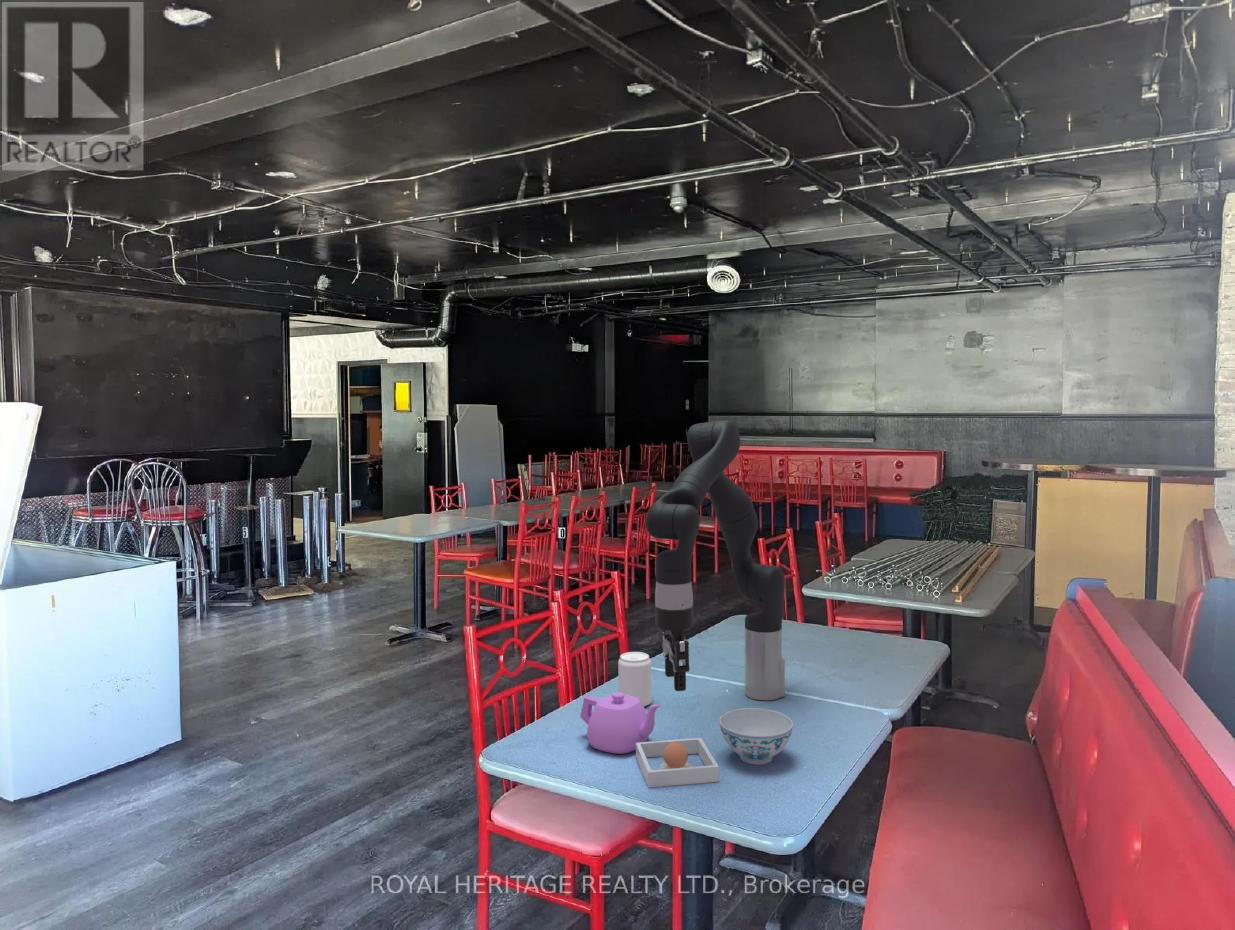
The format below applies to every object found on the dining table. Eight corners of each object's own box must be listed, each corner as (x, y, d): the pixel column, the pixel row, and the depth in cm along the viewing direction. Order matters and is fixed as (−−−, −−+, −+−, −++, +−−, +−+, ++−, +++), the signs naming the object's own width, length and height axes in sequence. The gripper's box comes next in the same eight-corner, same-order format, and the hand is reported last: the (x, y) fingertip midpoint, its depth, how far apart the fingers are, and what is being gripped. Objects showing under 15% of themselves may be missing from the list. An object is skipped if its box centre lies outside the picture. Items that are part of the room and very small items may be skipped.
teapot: (647, 765, 163) (646, 712, 162) (566, 746, 173) (565, 696, 172) (676, 741, 174) (675, 692, 173) (598, 724, 184) (597, 677, 183)
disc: (687, 760, 164) (687, 759, 164) (695, 774, 158) (695, 772, 158) (657, 762, 163) (657, 761, 163) (663, 776, 157) (663, 775, 157)
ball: (685, 760, 164) (684, 737, 163) (690, 771, 159) (690, 747, 158) (661, 762, 163) (660, 739, 163) (666, 773, 158) (665, 749, 158)
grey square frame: (701, 751, 169) (700, 737, 169) (718, 781, 155) (718, 766, 155) (635, 756, 167) (635, 742, 166) (648, 787, 153) (648, 772, 153)
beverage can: (652, 698, 201) (651, 651, 200) (650, 710, 193) (650, 661, 192) (620, 697, 201) (619, 650, 201) (617, 709, 193) (616, 660, 193)
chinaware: (777, 780, 155) (777, 741, 155) (707, 763, 163) (707, 726, 162) (803, 751, 168) (803, 716, 167) (737, 737, 176) (736, 703, 175)
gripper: (701, 611, 152) (702, 694, 153) (684, 594, 166) (685, 670, 167) (662, 613, 151) (664, 697, 152) (648, 596, 165) (650, 672, 166)
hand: (675, 683), depth 160 cm, fingers open, 8 cm apart
